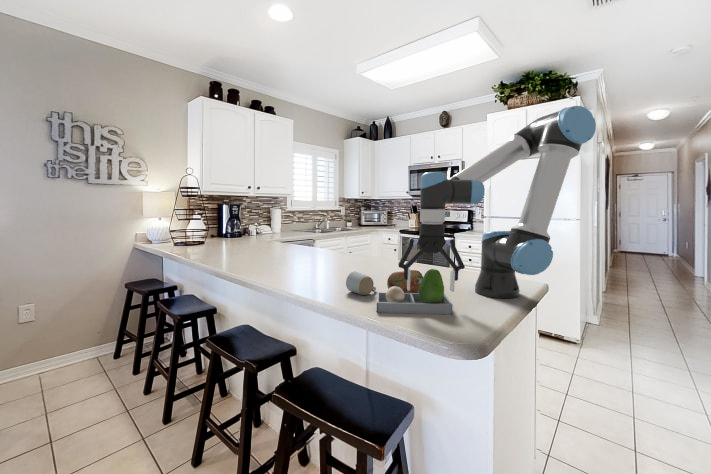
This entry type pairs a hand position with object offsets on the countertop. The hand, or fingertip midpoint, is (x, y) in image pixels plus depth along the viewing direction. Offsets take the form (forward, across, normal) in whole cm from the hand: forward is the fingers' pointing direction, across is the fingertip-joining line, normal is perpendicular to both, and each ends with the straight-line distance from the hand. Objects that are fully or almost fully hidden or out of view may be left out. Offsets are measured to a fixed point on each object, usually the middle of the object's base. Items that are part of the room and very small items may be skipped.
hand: (430, 290), depth 104 cm
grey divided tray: (+6, +6, 0) cm, 8 cm away
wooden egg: (+2, +11, 0) cm, 11 cm away
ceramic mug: (+6, +22, -16) cm, 28 cm away
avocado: (+5, 0, 0) cm, 5 cm away
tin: (+6, +6, -17) cm, 19 cm away
